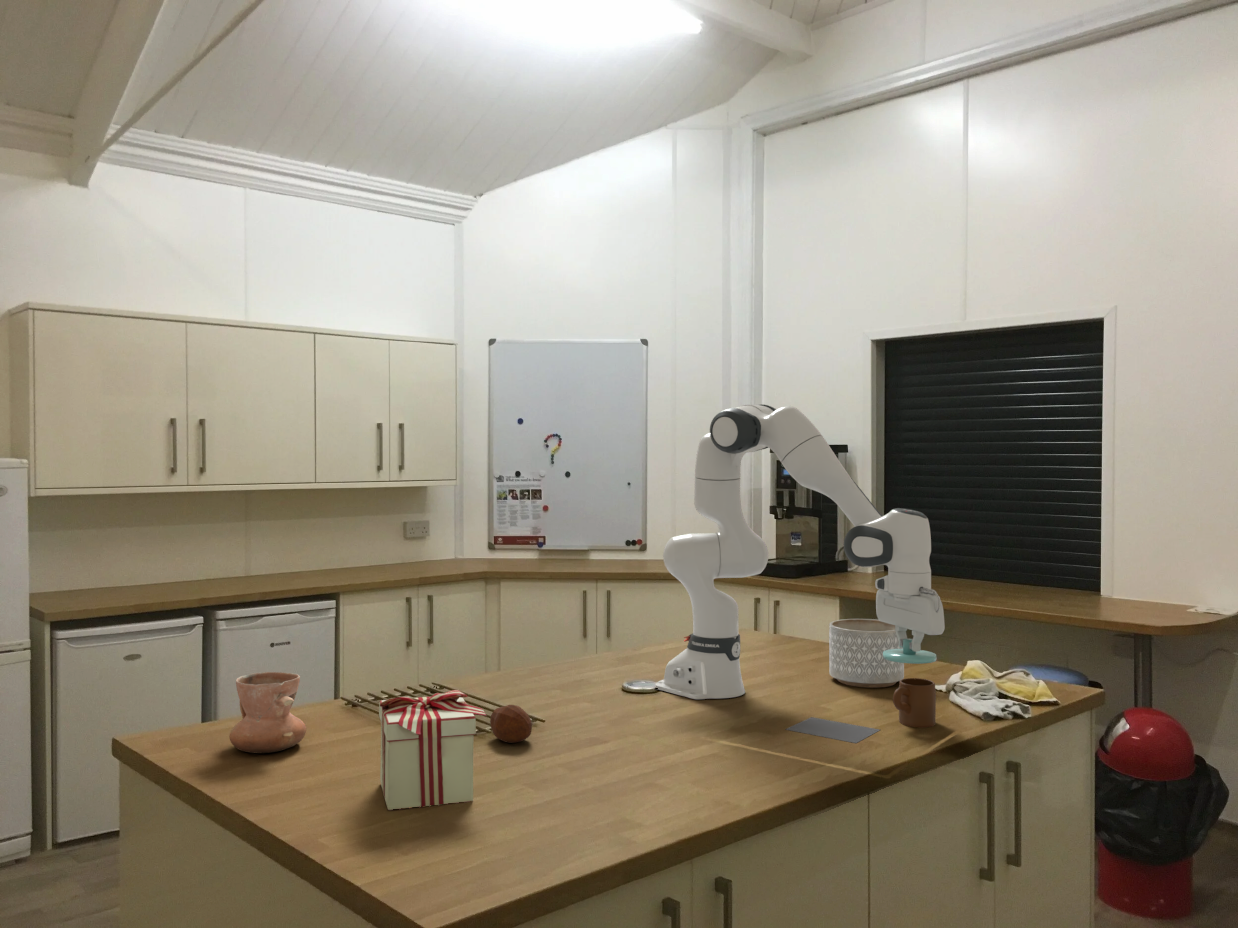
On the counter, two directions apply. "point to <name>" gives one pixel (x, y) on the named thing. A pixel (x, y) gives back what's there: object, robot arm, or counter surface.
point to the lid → (909, 655)
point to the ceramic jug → (267, 713)
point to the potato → (511, 724)
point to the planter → (863, 653)
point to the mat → (833, 730)
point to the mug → (916, 702)
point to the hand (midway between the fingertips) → (909, 649)
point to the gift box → (427, 750)
